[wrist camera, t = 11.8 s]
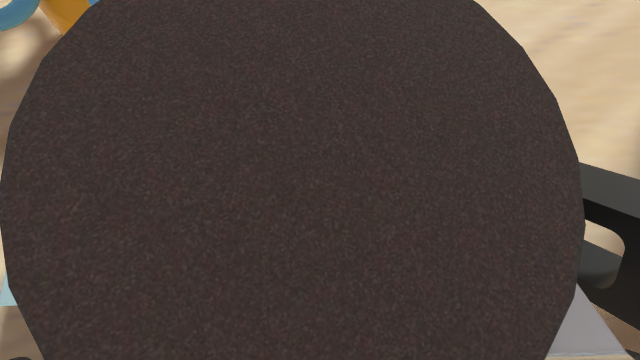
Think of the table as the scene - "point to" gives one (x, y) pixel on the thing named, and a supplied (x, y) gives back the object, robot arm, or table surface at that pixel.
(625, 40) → the table surface
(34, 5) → the multicoloured piece
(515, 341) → the deodorant
